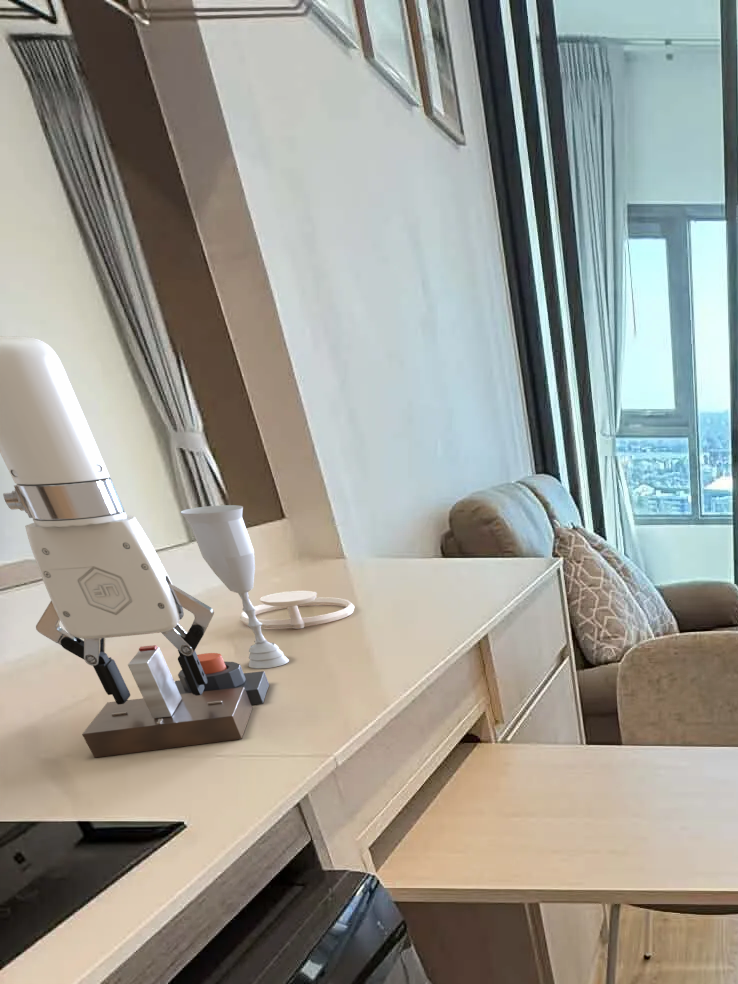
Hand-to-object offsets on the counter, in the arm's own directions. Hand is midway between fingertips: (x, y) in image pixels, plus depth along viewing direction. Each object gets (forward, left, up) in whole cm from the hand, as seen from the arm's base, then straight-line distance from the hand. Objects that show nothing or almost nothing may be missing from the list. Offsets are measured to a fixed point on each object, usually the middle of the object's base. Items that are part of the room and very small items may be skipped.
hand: (161, 694), depth 91 cm
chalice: (+7, +26, -4) cm, 27 cm away
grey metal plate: (0, 0, -1) cm, 1 cm away
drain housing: (+3, +11, -4) cm, 12 cm away
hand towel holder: (+9, +52, -4) cm, 53 cm away
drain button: (+3, +11, -1) cm, 11 cm away
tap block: (0, 0, -4) cm, 4 cm away
